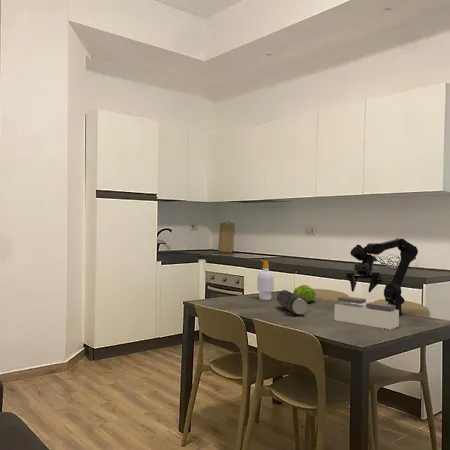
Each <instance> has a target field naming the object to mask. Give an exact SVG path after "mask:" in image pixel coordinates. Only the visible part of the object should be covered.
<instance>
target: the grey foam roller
mask: <svg viewBox="0 0 450 450" xmlns="http://www.w3.org/2000/svg"><path fill="white" fill-rule="evenodd" d="M276 302H277V303H278V304H279V305H280V306H282V307H283V308H284V309H286V310H287V311H289V312H291V313H292V314H293V315H295V316H296V315H298V316H299V315H303V314H304V313H305V312H307V309H308V302H306V300H305V299H304V298H303V297H301V296H297V295H295V294H293V292H291V291H290V290H286V289H284V290H280V291H279V292H278V293H277V295H276Z"/></svg>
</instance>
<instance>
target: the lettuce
mask: <svg viewBox="0 0 450 450" xmlns="http://www.w3.org/2000/svg"><path fill="white" fill-rule="evenodd" d="M292 293H293V294H295V295H297V296H301V297H303V298H304V299H305V300H306V302H307V303H310V302H312V301H314V299H315V297H316V296H317V294H316V291H315V289H314V288H313V287H310V286H309V285H307V284H303V285H300V286H298V287H296V288H294V290H293V292H292Z"/></svg>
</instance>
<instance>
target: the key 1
mask: <svg viewBox="0 0 450 450" xmlns="http://www.w3.org/2000/svg"><path fill="white" fill-rule="evenodd" d="M337 301H338V302H340V303H343V302H345V303H352V304H360V305H363V304H366V303H367V299H366V298H362V297H353V296H346V295H343V296H339V297H337Z"/></svg>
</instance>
